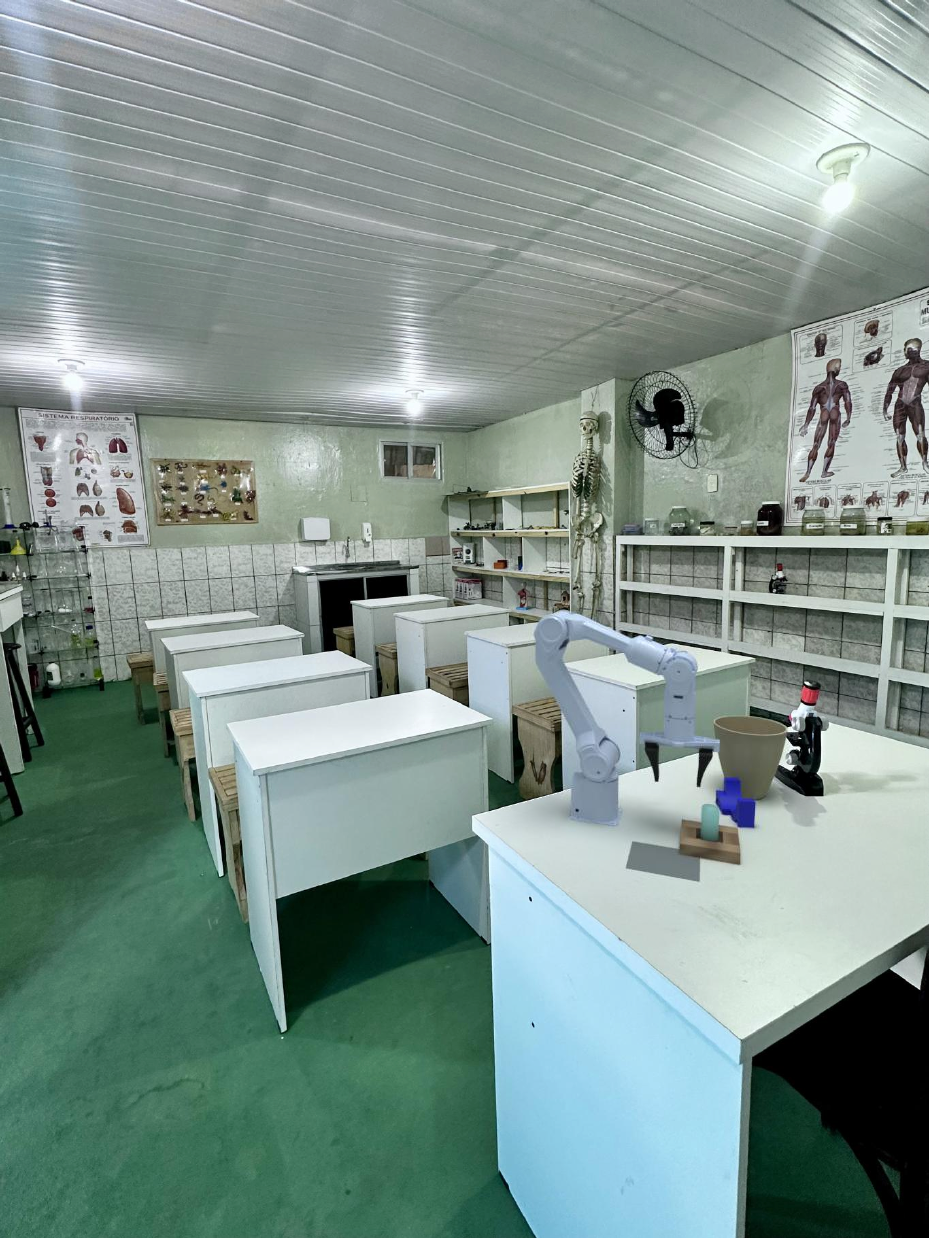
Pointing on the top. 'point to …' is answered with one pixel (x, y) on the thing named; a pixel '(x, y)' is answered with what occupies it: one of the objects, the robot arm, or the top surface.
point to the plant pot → (750, 751)
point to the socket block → (710, 843)
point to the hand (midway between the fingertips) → (677, 782)
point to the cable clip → (736, 803)
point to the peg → (709, 822)
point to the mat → (663, 861)
